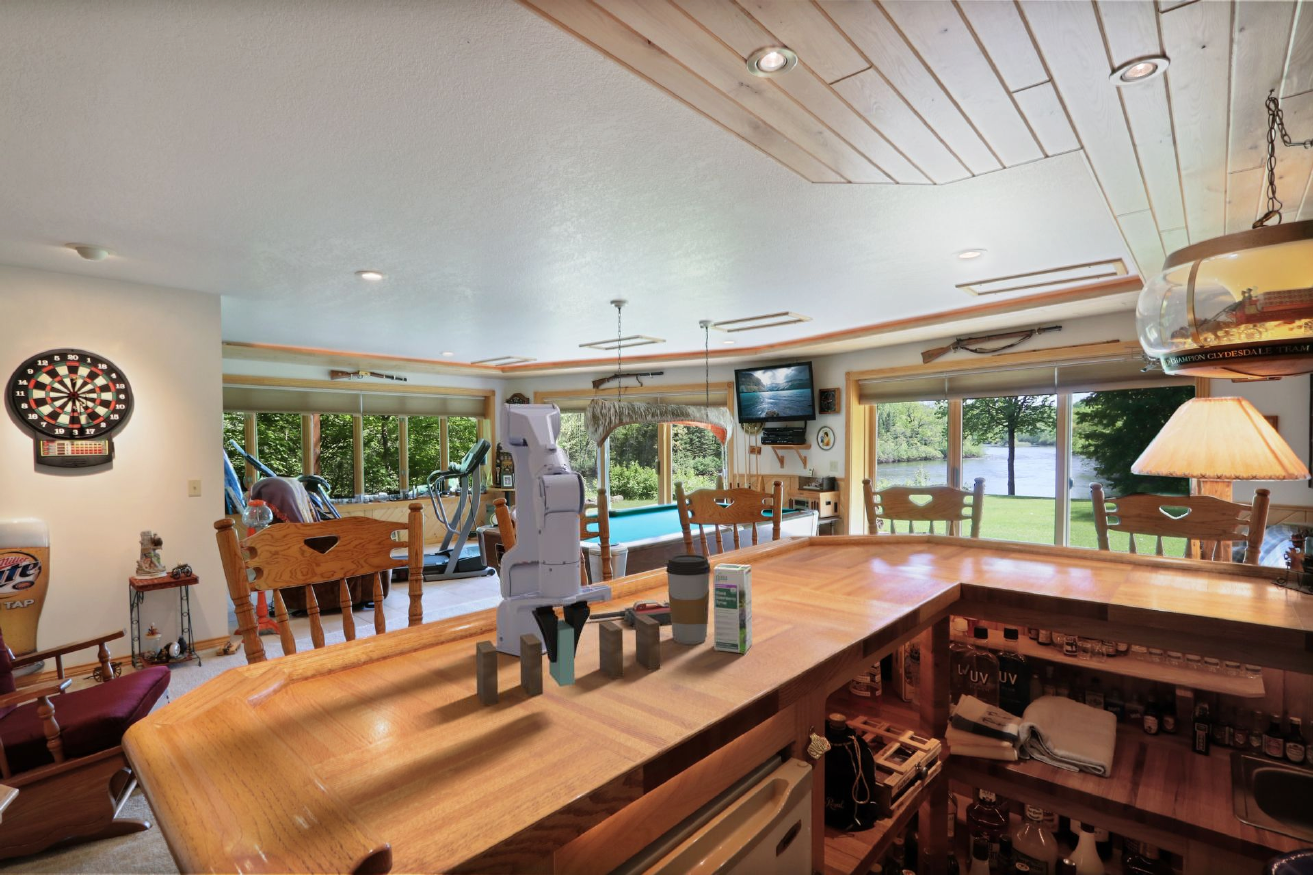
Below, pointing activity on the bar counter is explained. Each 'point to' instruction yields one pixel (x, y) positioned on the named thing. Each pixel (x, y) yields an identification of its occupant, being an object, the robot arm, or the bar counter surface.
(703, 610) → the coffee cup
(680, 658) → the bar counter surface
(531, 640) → the domino
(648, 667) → the domino
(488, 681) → the domino
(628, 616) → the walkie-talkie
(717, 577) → the syrup box
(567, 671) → the domino
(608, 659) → the domino
